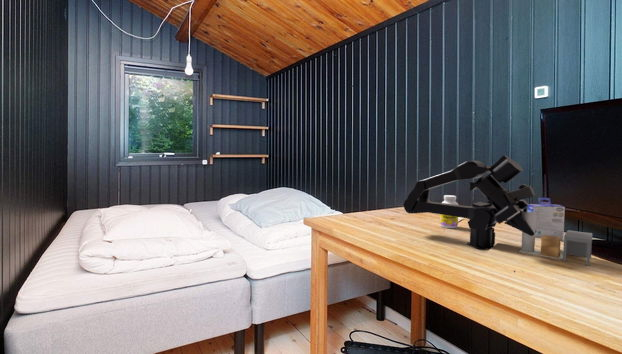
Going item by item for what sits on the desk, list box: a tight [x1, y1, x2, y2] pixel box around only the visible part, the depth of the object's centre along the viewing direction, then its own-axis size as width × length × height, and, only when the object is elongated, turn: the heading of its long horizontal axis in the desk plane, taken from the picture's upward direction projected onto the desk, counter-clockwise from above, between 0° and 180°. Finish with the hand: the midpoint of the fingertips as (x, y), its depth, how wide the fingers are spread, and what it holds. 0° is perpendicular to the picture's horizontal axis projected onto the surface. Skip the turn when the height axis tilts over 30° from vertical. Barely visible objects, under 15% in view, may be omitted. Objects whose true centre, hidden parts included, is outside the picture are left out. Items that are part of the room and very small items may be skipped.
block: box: [540, 235, 562, 259], centre depth 92 cm, size 4×4×5 cm
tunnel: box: [562, 229, 594, 267], centre depth 88 cm, size 5×9×8 cm, turn 137°
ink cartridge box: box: [527, 197, 566, 242], centre depth 113 cm, size 10×6×14 cm, turn 79°
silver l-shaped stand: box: [518, 212, 563, 260], centre depth 93 cm, size 10×6×12 cm, turn 47°
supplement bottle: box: [439, 194, 459, 229], centre depth 133 cm, size 7×7×13 cm
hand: (534, 233), depth 95 cm, fingers closed on silver l-shaped stand, 3 cm apart
